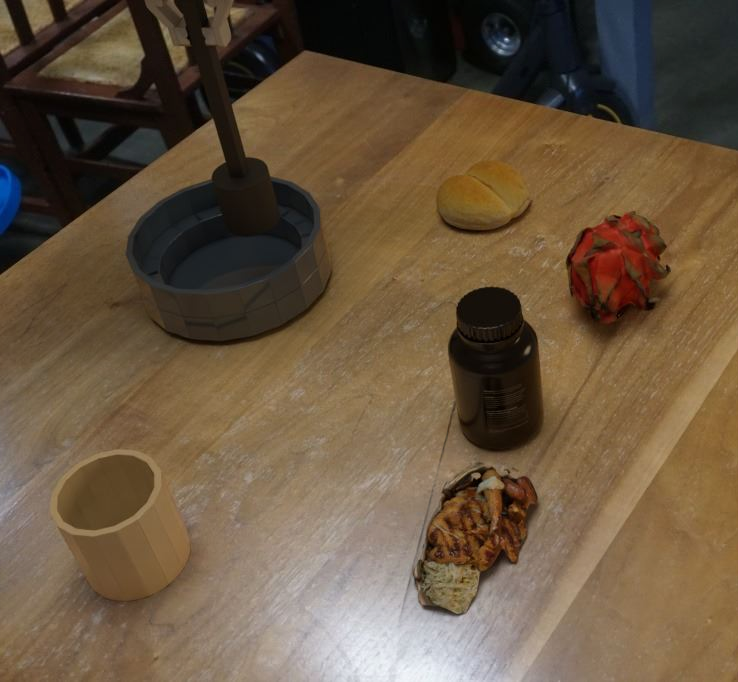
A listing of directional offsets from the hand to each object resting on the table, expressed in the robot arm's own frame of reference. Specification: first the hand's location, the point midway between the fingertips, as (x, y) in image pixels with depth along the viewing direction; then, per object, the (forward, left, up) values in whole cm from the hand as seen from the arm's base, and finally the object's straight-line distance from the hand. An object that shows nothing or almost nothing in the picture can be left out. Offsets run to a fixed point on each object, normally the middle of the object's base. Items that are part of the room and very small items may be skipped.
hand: (202, 43), depth 85 cm
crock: (0, -31, -24) cm, 39 cm away
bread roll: (+18, +13, -25) cm, 33 cm away
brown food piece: (+24, -27, -25) cm, 44 cm away
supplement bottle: (+24, -15, -25) cm, 37 cm away
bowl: (-3, 0, -24) cm, 25 cm away
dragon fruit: (+32, 0, -25) cm, 40 cm away
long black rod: (0, 0, -17) cm, 17 cm away
